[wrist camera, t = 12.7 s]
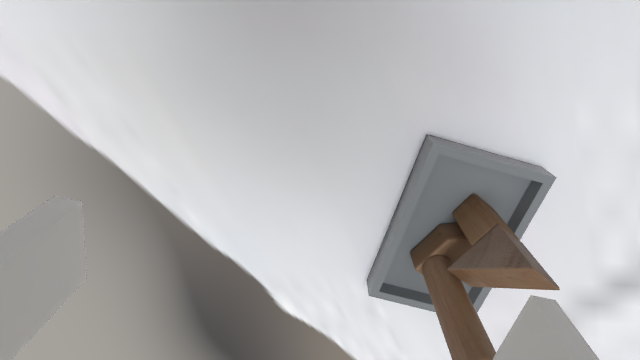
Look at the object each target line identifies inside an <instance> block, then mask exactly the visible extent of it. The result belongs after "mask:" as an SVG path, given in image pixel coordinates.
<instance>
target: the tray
mask: <svg viewBox="0 0 640 360" xmlns="http://www.w3.org/2000/svg"><path fill="white" fill-rule="evenodd" d="M555 179H556V177H555V176H553V175H552V174H551V173H549V172H548V171H547V170H545V169H544V168H542V167H539V166H536V165H532V164H529V163H525V162H522V161H518V160H515V159H511V158H508V157H504V156H501V155H497V154H494V153H490V152H487V151H483V150H480V149H476V148H473V147H469V146H466V145H462V144H459V143H455V142H452V141H448V140H445V139H441V138H438V137H434V136H431V135H426V137H425V140H424V142H423V145H422V147H421V150H420V152H419V154H418V157H417V159H416V162H415V164H414V167H413V169H412V172H411V174H410V176H409V179H408V181H407V184H406V186H405V189H404V191H403V193H402V196H401V198H400V201H399V203H398V206H397V208H396V211H395V213H394V215H393V218H392V220H391V223H390V225H389V228H388V230H387V233H386V235H385V237H384V240H383V242H382V245H381V247H380V250H379V252H378V254H377V257H376V259H375V262H374V264H373V267H372V269H371V272H370V274H369V276H368V279H367V285H368V293H369V296H372V297H376V298H380V299H384V300H388V301H392V302H396V303H400V304H404V305H409V306H413V307H417V308H421V309H425V310H429V311H433V312H436V311H435V308H434V305H433V302H432V299H431V296H430V293H429V291H428V288H427V285H426V282H425V279H424V276H423V275H422V274H420V273H419V272H418V271H416V270H415V268H414V265H413V262H412V259H411V255H410V252H411V251H412V250H413V249H414V248H415V247H416V246H417V245H418V244H420V243H421V242H422V241H423V240H424V239H425V238H426V237H427V236H428V235H429V234H430V233H431V232H432V231H434V230H435V229H436V228H437V227H438V226H439V225H440V224H450V223H457V221H456V219H455V218H454V216H453V212H454V211H455V210H456V209H457V208H458V207H459V206H460V205H461V204H462V203H463V202H464V201H465V200H466V199H468V198H469V197H470V196H471V195H472V194H476V195H478V196H479V197H480V198H481V199H482V200H484V201H485V202H486V203H487V204H489V205H490V206H491V207H492V208H493V209H494V210H495V211H496V212H497V213H498V215H499V216H500V217H501V218H502V219H503V221H504V222H505V223H506V224H507V225H508V227H509V228H510V229H511V230H512V231H513V233H514V234H515V235H516V236H517V237H518V239H519V240H520V239H521V237H522V235H523V234H524V232H525V230H526V228H527V227H528V225H529V223H530V222H531V220H532V218H533V217H534V215H535V213H536V211H537V210H538V208H539V206H540V205H541V203H542V201H543V199H544V198H545V196H546V194H547V193H548V191H549V189H550V187H551V186H552V184H553V182H554V181H555ZM461 281H462V280H461ZM462 283H463V286H464V288H465V290H466V292H467V294H468V296H469V298H470V300H471V302H472V304H473V306H474V308H475V310H476V312H478V310H479V309H480V307H481V305H482V304H483V302H484V300H485V298H486V297H487V295H488V293H489V292H490V290H491V287H470V286H468V285H467V284H466V283H464V282H463V281H462Z"/></svg>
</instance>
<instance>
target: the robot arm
mask: <svg viewBox="0 0 640 360" xmlns="http://www.w3.org/2000/svg"><path fill="white" fill-rule="evenodd" d="M86 279H87V274H86V257H85V241H84V224H83V206H82V202H81V201H77V200H72V199H67V198H62V197H57V196H53V197H52V198H50V199H49V200H47V201H46V202H44V203H43V204H41V205H40V206H38V207H37V208H35V209H34V210H32V211H31V212H29V213H28V214H26V215H25V216H23V217H22V218H20V219H19V220H17V221H16V222H14V223H13V224H11V225H10V226H8V227H7V228H5V229H4V230H2V231H1V232H0V360H12V359H13V358H14V357H15V356H16V355H17V354H18V353H19V351H20V350H21V349H22V348H23V347H24V346H25V345H26V344H27V343H28V342H29V341H30V340H31V338H32V337H33V336H34V335H35V334H36V333H37V332H38V331H39V330H40V329H41V328H42V327H43V325H44V324H45V323H46V322H47V321H48V320H49V319H50V318H51V317H52V316H53V315H54V313H55V312H56V311H57V310H58V309H59V308H60V307H61V306H62V305H63V304H64V303H65V302H66V301H67V299H68V298H69V297H70V296H71V295H72V294H73V293H74V292H75V291H76V290H77V288H79V286H80V285H81V284H82V283H83V282H84V281H85V280H86ZM493 360H599V358H598V357H597V356H596V354H595V353H594V352H593V350H592V349H591V348H590V346H589V345H588V344H587V342H586V341H585V340H584V338H583V337H582V336H581V334H580V333H579V331H578V330H577V329H576V327H575V326H574V325H573V323H572V322H571V321H570V319H569V318H568V317H567V315H566V314H565V313H564V311H563V310H562V308H561V307H560V306H559V304H558V303H557V302H556V300H552V299H547V298H542V297H537V296H533V295H531V296H530V298H529V299H528V301H527V303H526V304H525V306H524V308H523V309H522V311H521V313H520V314H519V316H518V318H517V319H516V321H515V323H514V324H513V326H512V328H511V329H510V331H509V333H508V334H507V336H506V338H505V339H504V341H503V343H502V344H501V346H500V348H499V349H498V351H497V353H496V354H495V356H494V358H493Z"/></svg>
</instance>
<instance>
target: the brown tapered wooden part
mask: <svg viewBox="0 0 640 360" xmlns="http://www.w3.org/2000/svg"><path fill="white" fill-rule="evenodd" d="M453 216H454V218H455V219H456V221H457V223H450V224H440V225H439V226H438V227H437V228H436V229H435V230H434V231H432V232H431V233H430V234H429V235H428V236H427V237H426V238H425V239H424V240H423V241H422V242H421V243H420V244H418V245H417V246H416V247H415V248H414V249H413V250H412V251H411V252H410V255H411V259H412V262H413V265H414V268H415V270H416V271H418V272H419V273H420V274H422V275H423V276H424V279H425V282H426V285H427V288H428V291H429V293H430V296H431V299H432V302H433V305H434V308H435V311H436V314H437V317H438V319H439V322H440V325H441V328H442V331H443V334H444V337H445V340H446V343H447V345H448V348H449V351H450V354H451V357H452V360H493V358H494V356H495V354H496V352H495V350H494V348H493V346H492V343H491V341H490V339H489V337H488V335H487V333H486V331H485V329H484V327H483V325H482V323H481V321H480V319H479V317H478V314H477V312H476V310H475V308H474V306H473V304H472V302H471V300H470V298H469V296H468V294H467V292H466V290H465V288H464V286H463V283H462V281H463V282H464V283H466V284H467V285H468V286H470V287H491V288H517V289H542V290H560V289H559V287H558V285H557V284H556V283H555V282H554V281H553V279H552V278H551V277H550V276H549V275H548V273H547V272H546V271H545V270H544V269H543V267H542V266H541V265H540V264H539V263H538V261H537V260H536V259H535V258H534V257H533V255H532V254H531V253H530V252H529V251H528V249H527V248H526V247H525V246H524V245H523V243H521V242H520V241H519V239H518V237H517V236H516V235H515V234H514V233H513V231H512V230H511V229H510V228H509V227H508V225H507V224H506V223H505V222H504V221H503V219H502V218H501V217H500V216H499V215H498V213H497V212H496V211H495V210H494V209H493V208H492V207H491V206H490V205H489V204H487V203H486V202H485V201H484V200H482V199H481V198H480V197H479V196H478V195H476V194H472V195H471V196H470V197H469V198H468V199H466V200H465V201H464V202H463V203H462V204H461V205H460V206H459V207H458V208H457V209H456V210H455V211H454V212H453ZM461 280H462V281H461Z"/></svg>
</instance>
